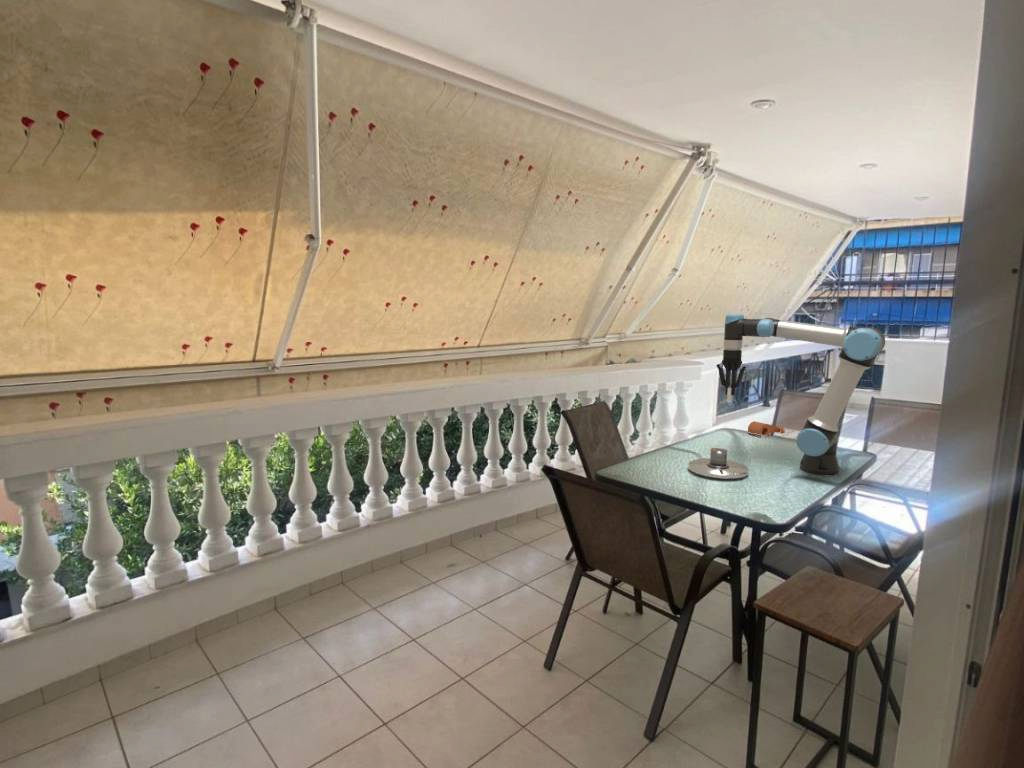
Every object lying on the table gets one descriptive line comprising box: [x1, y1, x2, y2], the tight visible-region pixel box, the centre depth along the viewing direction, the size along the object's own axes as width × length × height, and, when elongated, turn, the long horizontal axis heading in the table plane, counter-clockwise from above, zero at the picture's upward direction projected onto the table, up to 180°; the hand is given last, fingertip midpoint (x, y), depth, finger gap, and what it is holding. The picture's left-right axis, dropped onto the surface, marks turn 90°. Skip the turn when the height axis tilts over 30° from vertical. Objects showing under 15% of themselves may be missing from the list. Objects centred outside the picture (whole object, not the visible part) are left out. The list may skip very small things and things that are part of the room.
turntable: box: [688, 447, 749, 480], centre depth 235 cm, size 24×24×6 cm
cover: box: [709, 447, 728, 469], centre depth 235 cm, size 8×8×7 cm
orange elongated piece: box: [747, 420, 786, 437], centre depth 300 cm, size 20×8×8 cm, turn 113°
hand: (729, 401), depth 246 cm, fingers closed
